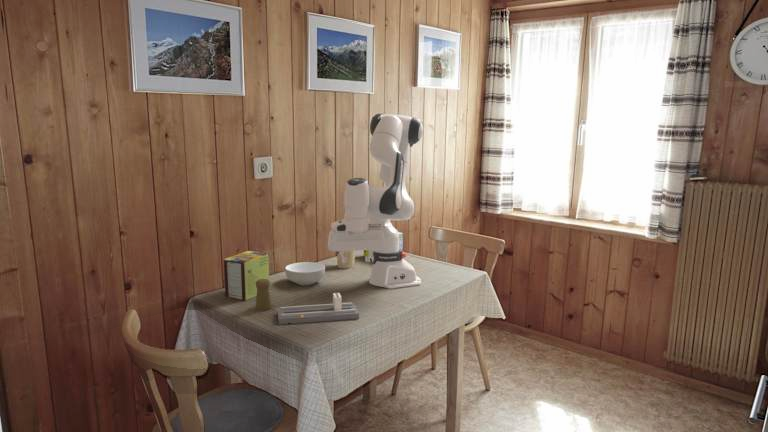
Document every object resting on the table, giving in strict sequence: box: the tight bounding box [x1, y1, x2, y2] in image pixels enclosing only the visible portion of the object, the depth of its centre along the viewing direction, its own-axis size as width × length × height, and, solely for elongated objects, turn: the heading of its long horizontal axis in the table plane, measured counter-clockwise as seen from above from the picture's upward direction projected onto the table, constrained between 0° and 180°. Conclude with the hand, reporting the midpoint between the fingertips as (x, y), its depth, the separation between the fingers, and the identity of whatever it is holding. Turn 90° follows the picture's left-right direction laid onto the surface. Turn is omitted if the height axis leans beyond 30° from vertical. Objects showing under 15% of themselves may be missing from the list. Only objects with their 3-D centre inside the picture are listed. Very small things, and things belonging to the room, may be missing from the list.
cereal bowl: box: [284, 261, 326, 286], centre depth 232 cm, size 17×17×7 cm
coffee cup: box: [336, 251, 356, 269], centre depth 256 cm, size 9×9×12 cm
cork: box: [254, 279, 273, 312], centre depth 200 cm, size 6×6×11 cm
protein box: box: [223, 250, 270, 301], centre depth 216 cm, size 10×15×16 cm
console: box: [277, 301, 360, 325], centre depth 194 cm, size 28×11×3 cm, turn 103°
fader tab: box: [332, 292, 343, 310], centre depth 195 cm, size 2×5×5 cm, turn 13°
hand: (356, 262), depth 194 cm, fingers open, 7 cm apart
